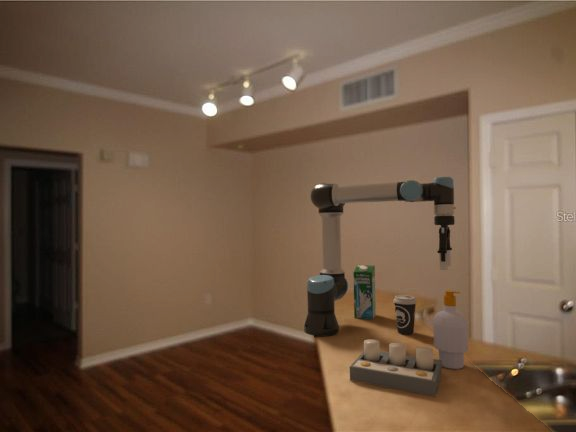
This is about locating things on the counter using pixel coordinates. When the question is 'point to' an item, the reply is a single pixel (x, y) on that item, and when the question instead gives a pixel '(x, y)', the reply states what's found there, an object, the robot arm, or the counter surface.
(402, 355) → the button
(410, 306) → the coffee cup
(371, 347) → the button
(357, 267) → the milk carton
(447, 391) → the counter surface
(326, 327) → the robot arm
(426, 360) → the button
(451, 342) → the soap bottle
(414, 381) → the board
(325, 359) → the counter surface
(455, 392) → the counter surface
